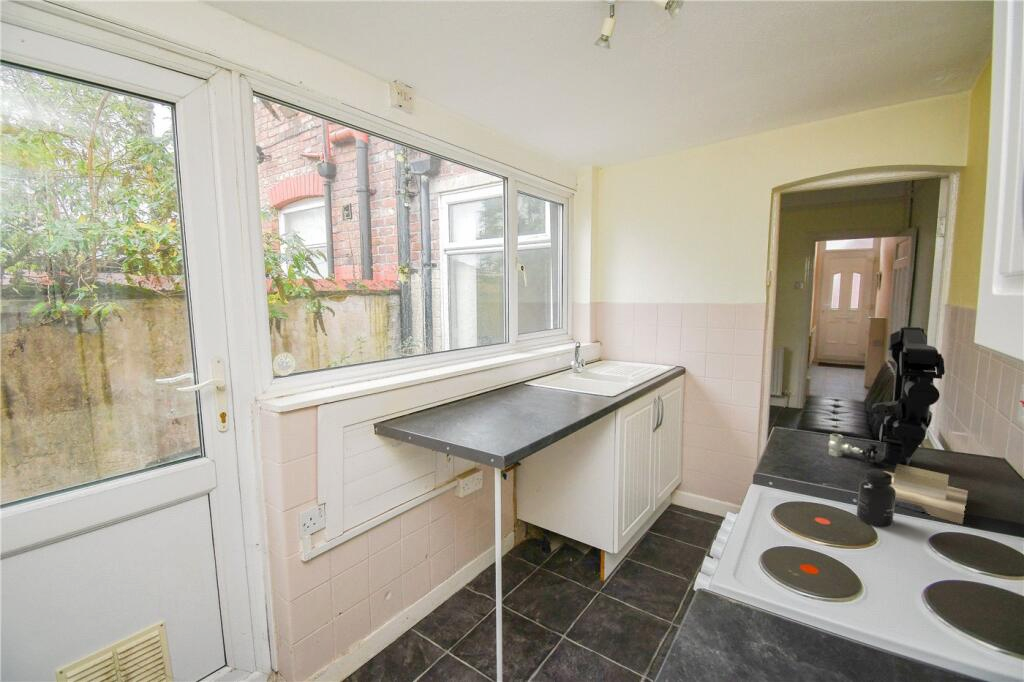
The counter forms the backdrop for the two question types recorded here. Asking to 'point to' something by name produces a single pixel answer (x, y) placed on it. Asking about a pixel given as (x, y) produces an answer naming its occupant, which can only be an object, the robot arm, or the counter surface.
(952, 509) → the crown molding piece
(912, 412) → the robot arm
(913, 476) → the housing
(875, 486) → the supplement bottle
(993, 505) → the counter surface
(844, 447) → the valve
